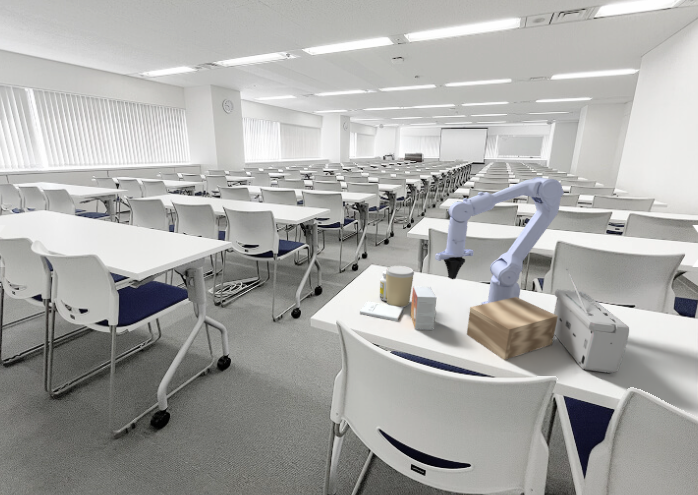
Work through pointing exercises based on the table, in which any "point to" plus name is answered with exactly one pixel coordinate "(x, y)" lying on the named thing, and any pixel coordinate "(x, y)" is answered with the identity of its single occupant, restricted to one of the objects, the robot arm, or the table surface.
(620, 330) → the stereo radio cassette player
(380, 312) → the external hard drive
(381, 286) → the supplement bottle
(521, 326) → the wood grain block
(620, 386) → the table surface
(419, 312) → the small box
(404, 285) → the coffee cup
